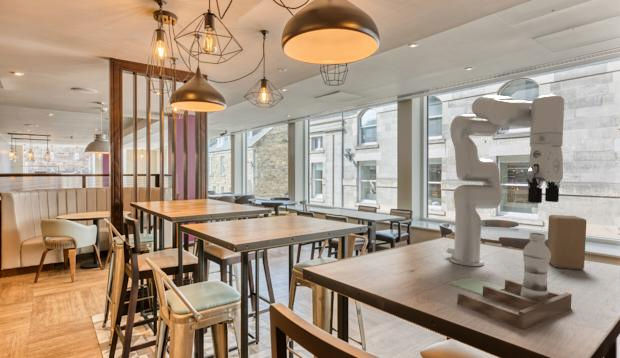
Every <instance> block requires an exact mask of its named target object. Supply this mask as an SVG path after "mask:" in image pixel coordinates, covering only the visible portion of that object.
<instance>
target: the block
mask: <svg viewBox="0 0 620 358" xmlns="http://www.w3.org/2000/svg"><path fill="white" fill-rule="evenodd" d="M547 227H548V229H547V245H546V246H547V247H548V249H549V250H550V253H551V258H550V262H549V265H550V264H551V265H552V266H553V267H554V268H556V267H557V268H559V269H566V268H567V269H568V270H576V269H577V270H576V271H582V270H584V269H585V260H586V259H585V257H586V240H587V239H586V238H587V237H586V235H587V220H586V219H585V218H583V217H579V216H575V215H562V214H551V215H549V216H548V225H547ZM557 268H556V269H557Z"/></svg>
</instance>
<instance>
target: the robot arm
mask: <svg viewBox="0 0 620 358" xmlns="http://www.w3.org/2000/svg"><path fill="white" fill-rule="evenodd" d="M471 111H472V113H473V114H471V113H470V114H469V113H467V114H460V115H456V116H455V117H454V118H453V119H452V120H451V123H450V127H449V128H450V129H449V134H450V139H451V142H452V145H453V148H454V157H455V159H454V160H455V171H456V172H455V173H456V177H457V179H458V180H459V181H462V182H467V183H470V182H471V183H482V184H461V185H459V186H457V187H456V188H455V189H454V191H453V201H454V202H453V203H454V210H455V224H454V225H455V226H454V248H451V247H448V248H447V249H446V253H447V254H450V255H451V256H449V261H450V262H452V263H454V264H457V265H461V266H467V267H481V266H484V264H485V261H484V260H483V259H481V257H480V255H481V238H482V237H481V236H482V219H481V216H480V214H479V213H478V211H477V210H476V209H482V210H483V209H484V210H485V209H489V210H492V209H496V208H498V207H500V204H501V202H502V189H501V188H502V187H501V178H500V177H501V176H500V169H499V166H498V164H497V163H496V162H495V161H494V160H492V159H489V158H487V159H486V158H479V153H478V152H479V151H478V147H477V144H476V142H474V140H473V139H472V138H470V136H473V137H474V136H475V137H491V136H494V135H496V134H497V133H499V131H501V129H502V128H504V127H526V128H527V127H528V128H530V129H529V130H530V131H529V132H530V133H529V147H530V153H529V159H528V170H527V171H526V177H527V179H526V180H527V188H528V190H527V191H528V195H527V202H528V203H535V204H541V203H542V201H543V188H542V185H543V183H544V182H545V185H546V187H545V190H544V191H545V192H544V193H545V194H544V196H545V198H544V200H545V202H548V203H549V202H550V203H559V197H560V187H561V185H560V183H561V182H562V180H563V179H564V162H563V149H562V147H563V143H564V141H563V140H564V137H563V136H564V119H565V118H564V117H565V116H564V115H565V99H564V98H563V96H561V95H556V94H550V95H549V94H548V95H541V96H538V97H536V98H535V97H534V99H533V100H532V101H531V100H529V101H527V100H515V99H513V98H512V97H511V96H504V95H482V96H479V97H478V98H476V99H475V100H474V101H473V102H472V105H471Z"/></svg>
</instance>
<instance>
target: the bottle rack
mask: <svg viewBox="0 0 620 358" xmlns="http://www.w3.org/2000/svg"><path fill="white" fill-rule="evenodd" d="M522 286H523V282H522V283H521V282H518V281H514V280H511V279H508V278H506V279H505V280H504V288H505V289H504V290H505V291H504V290H498V289H495V288H492V287H489V286H483V295H482V297H484V298H487V299H490V300H493V301H496V302H498V303H501V304H504V305H506V306H507V305H508V306H510V307H512V308H516V309H518V312H516V311H514V310H510V309H507V308H504V307H502V306H499V305H496V304H493V303H491V302H488V301H485V300H483V299H480V298H477V297H473V296H471V295H469V294H466V293H463V292H458V293H457V297H456V298H457V300H456V302H457V305H459V306H461V307H464V308H467V309H469V310H472V311H475V312H477V313H479V314H482V315H484V316H487V317H488V318H493V319H495V320H497V321H500V322H503V323H505V324H507V325H510V326H512V327H516V328H517V329H521V330H523V331H524V330H526V329H529V328H531V327H533V326H535V325H537V324H540V323H541V322H544V321H546V320H548V319H550V318H553V317H555V316H558V315H560V314H561V313H564V312H565V311H567V310H570V309H572V296H573V295H572V293H569V292H565V293H561V294H560V293H557V292H553V291H551V290H548V295H549V299H548V300H546V301H543V302H541V303H539V302H536V301H533V300H530V299H527V298H523V297H521V294H520V293H521V289H522ZM507 291H509V292H507ZM510 292H511V293H510ZM512 292H513V293H512ZM514 293H516V294H519V295H516V294H514ZM532 325H533V326H532ZM530 326H531V327H530ZM528 327H529V328H528Z"/></svg>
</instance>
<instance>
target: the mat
mask: <svg viewBox="0 0 620 358" xmlns="http://www.w3.org/2000/svg"><path fill="white" fill-rule="evenodd" d="M447 284H448V285H451V286H453V287H458V288H460V289H463V290H465V291H469V292H471V293H475V294H476V295H477V294H478V295H481V296H483V286H489V287H492V288H495V289H498V290H501V291H504V290H506V289H505V286H504V287H503V286H499V285H498V284H497V285H496V284H493V283H490V282H487V281H484V280H480V279H477V278H474V277H471V276H470V277H466V278H461V279H458V280H457V279H456V280H454V281H450V282H447Z"/></svg>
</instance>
